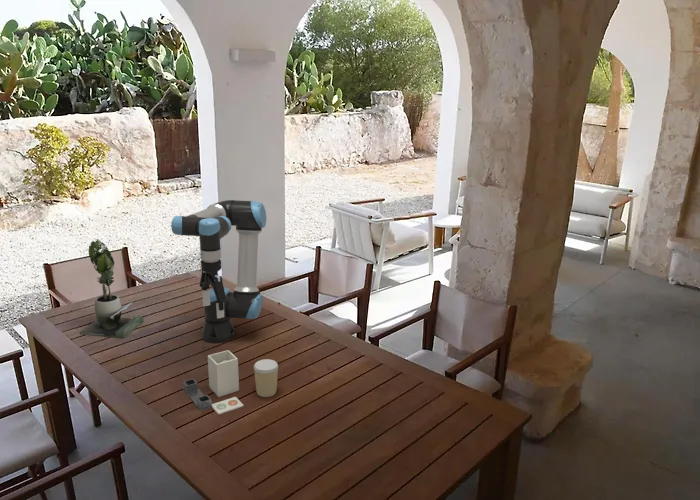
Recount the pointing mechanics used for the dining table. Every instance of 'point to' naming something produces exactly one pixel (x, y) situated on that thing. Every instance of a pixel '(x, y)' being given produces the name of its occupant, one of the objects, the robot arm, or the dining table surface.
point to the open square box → (223, 373)
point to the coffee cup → (266, 377)
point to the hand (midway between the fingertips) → (213, 311)
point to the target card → (227, 405)
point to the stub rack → (197, 395)
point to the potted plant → (108, 300)
